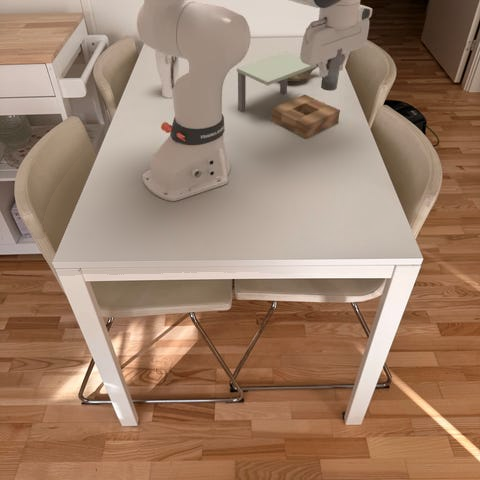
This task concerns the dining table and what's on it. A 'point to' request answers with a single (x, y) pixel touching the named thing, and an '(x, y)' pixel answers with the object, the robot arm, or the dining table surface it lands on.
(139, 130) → the dining table surface
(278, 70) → the pale green platform
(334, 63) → the peg
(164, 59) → the cream rounded piece
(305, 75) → the brown rounded scoop
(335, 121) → the socket plate
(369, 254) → the dining table surface
